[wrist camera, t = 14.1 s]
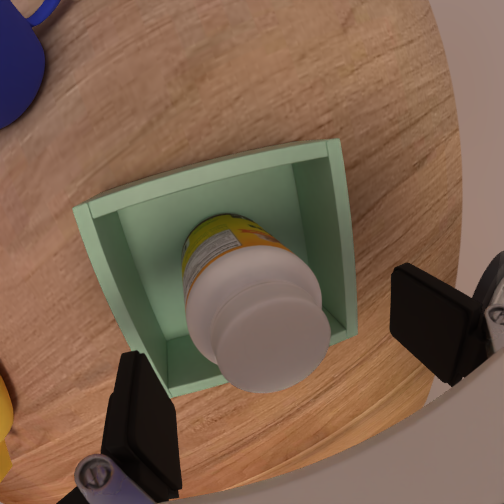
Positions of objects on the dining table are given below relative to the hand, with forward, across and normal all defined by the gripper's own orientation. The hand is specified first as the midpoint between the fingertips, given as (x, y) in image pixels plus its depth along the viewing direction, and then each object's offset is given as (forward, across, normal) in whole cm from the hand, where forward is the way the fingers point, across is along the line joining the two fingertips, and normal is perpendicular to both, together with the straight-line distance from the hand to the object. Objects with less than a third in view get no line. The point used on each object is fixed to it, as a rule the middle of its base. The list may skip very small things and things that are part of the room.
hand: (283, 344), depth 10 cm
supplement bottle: (+10, 0, 0) cm, 10 cm away
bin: (+10, +1, 0) cm, 10 cm away
